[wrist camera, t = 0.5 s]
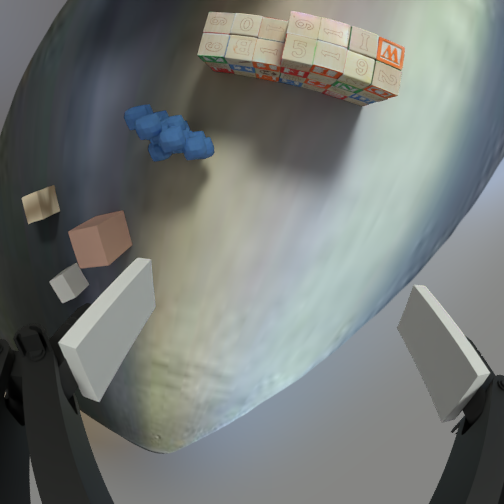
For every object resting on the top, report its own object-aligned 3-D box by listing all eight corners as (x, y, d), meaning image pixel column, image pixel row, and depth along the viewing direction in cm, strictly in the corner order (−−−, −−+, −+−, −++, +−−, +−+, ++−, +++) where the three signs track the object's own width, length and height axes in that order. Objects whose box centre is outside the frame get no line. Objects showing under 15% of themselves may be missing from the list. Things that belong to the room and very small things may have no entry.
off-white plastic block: (63, 270, 47) (49, 281, 42) (76, 262, 46) (62, 274, 41) (75, 290, 49) (62, 303, 44) (89, 284, 48) (76, 297, 43)
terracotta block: (95, 216, 42) (68, 231, 35) (123, 210, 41) (96, 225, 34) (105, 248, 44) (79, 268, 37) (132, 244, 43) (108, 265, 36)
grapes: (139, 138, 37) (93, 142, 26) (162, 99, 34) (121, 88, 23) (202, 178, 38) (174, 195, 27) (228, 138, 36) (208, 138, 25)
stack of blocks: (212, 72, 33) (187, 47, 21) (222, 35, 30) (202, -1, 19) (363, 107, 33) (399, 96, 22) (370, 69, 30) (407, 47, 19)
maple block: (38, 191, 41) (21, 197, 36) (54, 185, 40) (36, 191, 36) (44, 215, 43) (28, 223, 38) (60, 210, 42) (43, 219, 37)
